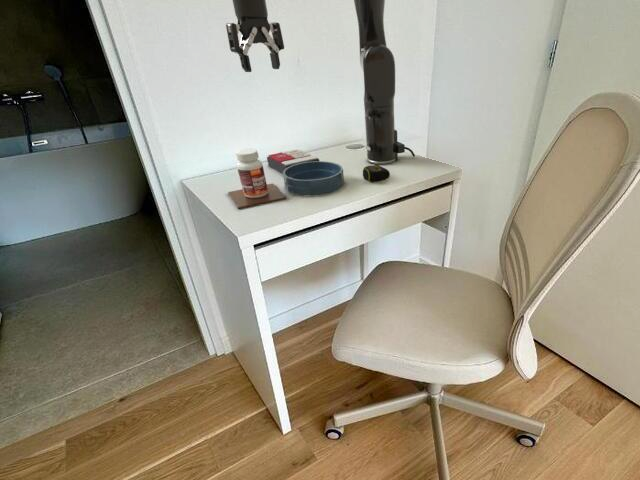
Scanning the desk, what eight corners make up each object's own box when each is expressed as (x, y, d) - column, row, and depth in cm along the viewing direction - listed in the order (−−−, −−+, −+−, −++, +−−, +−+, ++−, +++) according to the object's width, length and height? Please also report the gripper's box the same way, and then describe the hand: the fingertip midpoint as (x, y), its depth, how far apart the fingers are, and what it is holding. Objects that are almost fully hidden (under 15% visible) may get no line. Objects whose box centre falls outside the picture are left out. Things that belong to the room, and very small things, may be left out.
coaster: (272, 185, 110) (272, 183, 110) (286, 199, 102) (285, 197, 102) (228, 194, 105) (228, 191, 105) (238, 209, 97) (238, 207, 96)
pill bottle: (259, 200, 100) (249, 155, 93) (239, 197, 101) (227, 153, 95) (273, 191, 105) (264, 149, 98) (253, 189, 106) (243, 146, 100)
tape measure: (391, 181, 113) (390, 168, 110) (370, 186, 109) (369, 173, 107) (379, 174, 117) (378, 162, 115) (359, 179, 114) (358, 166, 112)
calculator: (297, 148, 128) (319, 156, 118) (300, 161, 130) (321, 170, 120) (265, 154, 122) (285, 163, 112) (268, 168, 125) (288, 178, 114)
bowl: (330, 172, 119) (329, 157, 116) (353, 189, 108) (352, 173, 105) (278, 182, 112) (275, 167, 109) (297, 201, 101) (294, 184, 98)
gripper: (229, -9, 86) (247, 74, 95) (282, -6, 95) (293, 68, 104) (211, -7, 89) (229, 72, 99) (263, -6, 99) (276, 67, 108)
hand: (262, 70), depth 101 cm, fingers open, 8 cm apart
